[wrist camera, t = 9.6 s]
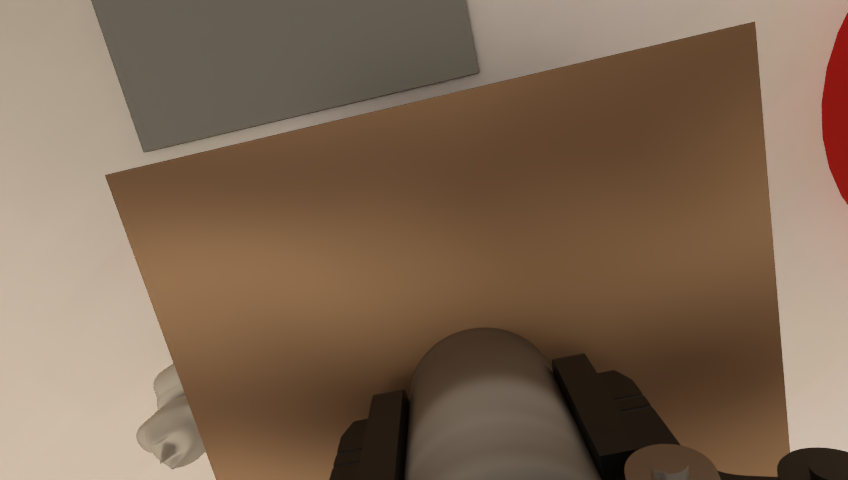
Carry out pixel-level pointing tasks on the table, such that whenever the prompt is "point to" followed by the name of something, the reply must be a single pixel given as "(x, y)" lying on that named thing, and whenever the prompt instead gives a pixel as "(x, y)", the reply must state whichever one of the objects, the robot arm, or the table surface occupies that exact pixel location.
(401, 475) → the robot arm
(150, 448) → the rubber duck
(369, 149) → the walnut lid
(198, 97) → the charcoal mat
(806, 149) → the table surface
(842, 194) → the toy clock
